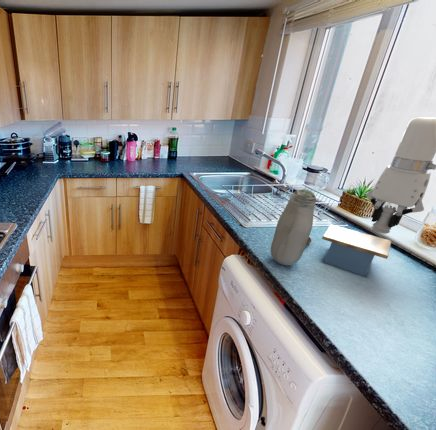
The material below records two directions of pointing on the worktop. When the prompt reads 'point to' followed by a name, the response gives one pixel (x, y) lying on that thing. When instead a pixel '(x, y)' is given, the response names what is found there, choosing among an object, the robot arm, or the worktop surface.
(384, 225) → the rook chess piece
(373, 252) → the board
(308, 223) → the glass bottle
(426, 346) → the worktop surface
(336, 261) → the blue box
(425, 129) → the robot arm
